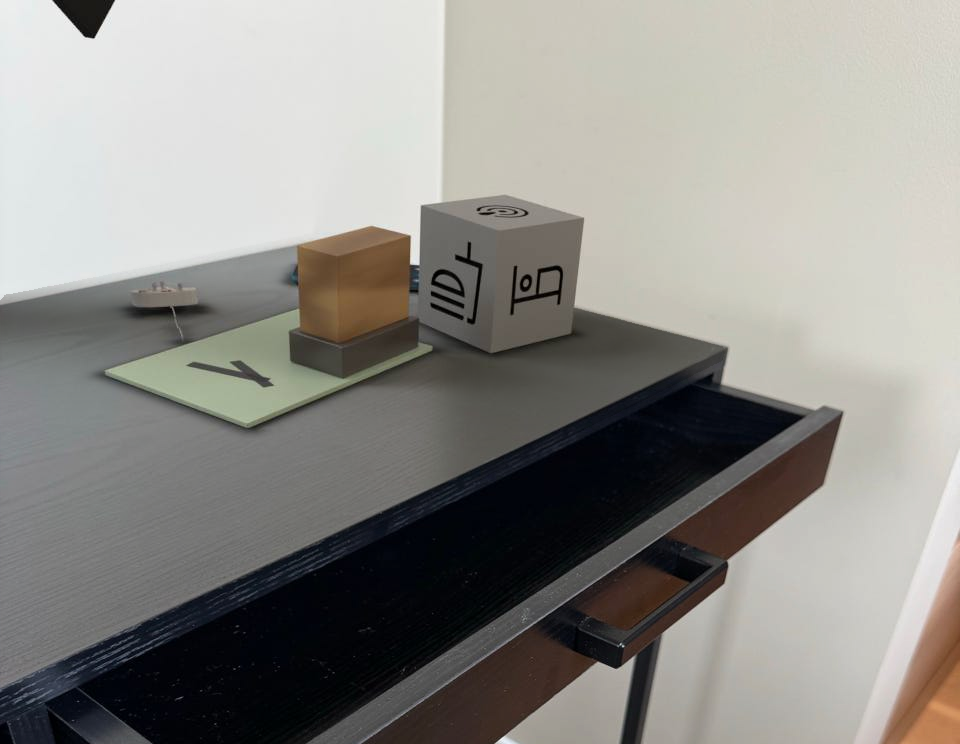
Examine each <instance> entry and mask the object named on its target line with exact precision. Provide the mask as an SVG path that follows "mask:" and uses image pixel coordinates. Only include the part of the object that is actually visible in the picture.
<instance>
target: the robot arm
mask: <svg viewBox="0 0 960 744" xmlns="http://www.w3.org/2000/svg"><path fill="white" fill-rule="evenodd" d="M51 1H52V2H53V3H54V4H55V5H56V7H57V8H58V9H59V10H60V12H61V13H62V14H63V15H64V16H65V17H66V18H67V19H68V20H69V21H70V23H72V25H73V26H74V27H75V28H76V29H77V30H78V32H79V33H80V34H81V35H82V36H83V37H84V38H85V39H92V40H95V39H96V36H97V35H98V33H99V31H100V29H101V27H102V25H103V24H104V22H105V20H106V18H107V16H108V15H109V13H110V11H111V9H112V7H113V6H114V4H115V1H116V0H51Z"/></svg>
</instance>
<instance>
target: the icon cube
mask: <svg viewBox="0 0 960 744" xmlns="http://www.w3.org/2000/svg"><path fill="white" fill-rule="evenodd" d="M419 217H420V220H419V221H420V222H419V258H418V259H419V263H418V265H419V290H418V302H417V303H418V306H417V307H418V308H417V309H418V310H417V318H419V324H420V323H421V324H423V325H425V326H427V327H429V328H432V329H434V330H435V331H439V332H441V333H444V334H445V335H448V336H450V337H453V338H455V339H457V340H459V341H461V342H464V343H466V344H468V345H470V346H473V347H475V348H478V349H480V350H482V351H485V352H486V353H488V354H493V353H498V352H502V351H506V350H510V349H513V348H518V347H522V346H526V345H531V344H535V343H539V342H542V341H547V340H550V339H555V338H558V337H563V336H566V335H570V334H572V329H573V327H572V326H573V320H574V313H575V312H574V310H575V303H576V302H575V301H576V295H577V294H576V293H577V287H578V286H577V285H578V278H579V277H578V276H579V268H580V260H581V259H580V258H581V251H582V244H583V243H582V242H583V234H584V224H585V217H583V216H580V215H577V214H573V213H569V212H566V211H562V210H559V209H556V208H552V207H549V206H545V205H542V204H539V203H535V202H533V201H532V202H531V201H528V200H525V199H522V198H517V197H514V196H511V195H508V194H501V195H493V196H492V195H491V196H485V197H484V196H483V197H476V198H466V199H459V200H451V201H444V202H443V201H442V202H434V203H428V204H427V203H426V204H420V216H419Z"/></svg>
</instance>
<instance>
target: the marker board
mask: <svg viewBox="0 0 960 744" xmlns="http://www.w3.org/2000/svg"><path fill="white" fill-rule="evenodd" d="M298 327H300V313H299V308H296V309H293V310H290V311H287V312H283V313H281V314H277V315H275V316H271V317H267V318H265V319H262V320H261V319H260V320H258V321H255V322H253V323H249V324H246V325H242V326H240V327H236V328H234V329H229V330H227V331H223V332H221V333H218V334H215V335H211V336H209V337H208V336H207V337H205V338H202V339H199V340H196V341H193V342H189V343H186V344H183V345H180V346H177V347H174V348H171V349H170V348H169V349H167V350H164V351H161V352H158V353H155V354H152V355H149V356H146V357H142V358H139V359H136V360H133V361H130V362H128V363H123V364H120V365H117V366H113V367H110V368H109V369H105V370H104V374H105V376H106V377H108V378H112V379H115V380H117V381H120V382H123V383H125V384H128V385H130V386H133V387H135V388H138V389H140V390H143V391H146V392H149V393H152V394H155V395H157V396H160V397H163V398H165V399H168V400H171V401H173V402H176V403H179V404H181V405H184V406H187V407H189V408H192V409H194V410H197V411H200V412H202V413H205V414H208V415H211V416H213V417H216V418H218V419H221V420H225V421H227V422H228V423H229V422H230V423H232V424H234V425H238V426H240V427H243V428H245V429H250V428H252V427H255V426H257V425H260V424H261V423H264V422H267V421H269V420H271V419H273V418H276V417H278V416H280V415H283V414H286V413H288V412H290V411H293V410H295V409H297V408H300V407H302V406H304V405H306V404H310V403H311V402H314V401H316V400H318V399H322V398H323V397H326V396H328V395H331V394H334V393H335V392H337V391H340V390H343V389H345V388H347V387H349V386H352V385H354V384H356V383H359V382H361V381H363V380H366V379H368V378H370V377H373V376H376V375H378V374H380V373H382V372H385V371H387V370H390V369H392V368H395V367H397V366H399V365H402V364H404V363H406V362H408V361H411V360H413V359H416V358H419V357H421V356H423V355H425V354H427V353H431V352H432V351H433V345H430V344H426V343H423V342H420V341H419V342H418V347H417V348H415V349H412V350H410V351H408V352H405V353H403V354H401V355H398V356H396V357H393V358H391V359H389V360H386V361H384V362H382V363H379V364H377V365H374V366H372V367H370V368H367V369H365V370H363V371H360V372H358V373H355V374H353V375H351V376H348V377H346V378H344V379H342V378H339V377H336V376H333V375H330V374H327V373H324V372H321V371H318V370H315V369H312V368H309V367H306V366H303V365H300V364H297V363H294V362H291V361H290V346H289V330H292V329H295V328H298Z"/></svg>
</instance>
